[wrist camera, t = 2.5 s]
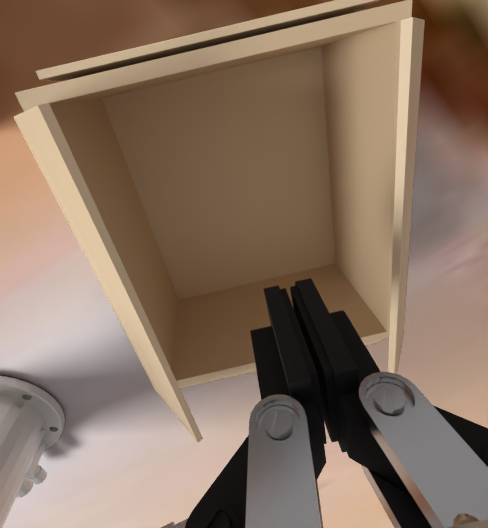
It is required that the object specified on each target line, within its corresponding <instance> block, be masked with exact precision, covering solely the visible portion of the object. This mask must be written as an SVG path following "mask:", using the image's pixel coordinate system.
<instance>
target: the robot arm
mask: <svg viewBox="0 0 488 528" xmlns="http://www.w3.org/2000/svg"><path fill="white" fill-rule="evenodd" d="M263 290H264V295H265V300H266V304H267V309H268V314H269V319H270V324H271V326H268V327H264V328H259V329H255V330H250V333H251V340H252V346H253V352H254V358H255V364H256V370H257V376H258V382H259V388H260V394H261V401H260V402H259V403H258V404H257V405H256V406H255V407H254V409H253V411H252V412H251V416H250V421H249V435H248V437H247V438H246V439H245V441H244V442H243V444H242V445H241V446H240V448H239V449H238V450H237V452H236V453H235V454H234V456H233V457H232V458H231V460H230V461H229V462H228V464H227V465H226V466H225V468H224V469H223V471H222V472H221V473H220V475H219V476H218V477H217V479H216V480H215V481H214V483H213V484H212V485H211V487H210V488H209V489H208V491H207V492H206V493H205V495H204V496H203V498H202V499H201V500H200V502H199V503H198V504H197V506H196V507H195V508H194V510H193V511H192V513H191V515H190V516H189V518H188V519H186V520H184V521H182V522H180V523H178V524H176V525H175V523H174V522H171V523H169V524H167V525H165V526H163V527H161V528H323V521H322V514H321V506H320V499H319V491H318V483H317V478H318V477H319V475H320V473H321V471H322V469H323V467H324V465H325V463H326V457H325V449H324V444H326V434H325V426H324V422H325V425H326V428H327V430H328V433H329V436H330V439H331V441H332V442H336V441H338V442H339V445H340V448H341V451H342V452H346V451H347V453H348V456H349V458H351V459H353V460H354V461H356V462H358V463H359V464H361V466H362V469H363V471H364V473H365V475H366V477H367V479H368V481H369V482H370V484H371V486H372V488H373V490H374V491H375V493H376V495H377V497H378V499H379V501H380V502H381V504H382V506H383V508H384V510H385V511H386V513H387V515H388V517H389V519H390V520H391V522H392V524H393V526H394V528H488V428H485V427H483V426H481V425H478V424H476V423H473V422H471V421H469V420H466V419H464V418H462V417H459V416H457V415H454V414H452V413H450V412H447V411H445V410H442V409H440V408H438V407H435V406H433V405H432V404H431V403H430V402H429V401H428V400H427V398H426V397H425V396H424V395H423V394H422V393H421V392H420V391H419V389H418V388H417V387H416V386H415V385H414V384H413V383H411V382H410V381H409V380H408V379H406V378H404V377H402V376H401V375H398V374H395V373H391V372H380V370H379V368H378V367H377V365H376V363H375V362H374V360H373V358H372V357H371V355H370V353H369V352H368V350H367V348H366V346H365V345H364V343H363V341H362V340H361V338H360V336H359V335H358V333H357V331H356V330H355V328H354V326H353V324H352V323H351V321H350V319H349V318H348V316H347V314H346V313H345V312H344V311H343V310H341V311H336V312H332V313H329V311H328V309H327V307H326V306H325V304H324V302H323V300H322V298H321V296H320V294H319V292H318V290H317V288H316V286H315V284H314V282H313V281H312V279H311V278H309V279H304V280H300V281H295V286H292V287H290V291H291V298H292V304H293V306H292V304H291V301H290V298H289V296H288V293H287V290H286V288H283V289H280V288H279V285H277V286H273V287H268V288H264V289H263ZM64 423H65V418H64V413H63V410H62V408H61V406H60V405H59V404H58V402H57V401H56V400H55V399H54V398H53V397H52V396H51V395H49V394H48V393H47V392H45V391H44V390H42V389H41V388H39V387H37V386H35V385H33V384H30V383H28V382H25V381H22V380H19V379H16V378H11V377H5V376H0V528H2V527H3V525H4V522H5V520H6V518H7V516H8V514H9V511H10V509H11V507H12V505H13V503H14V500H15V498H16V496H17V497H23V496H25V495H26V494H27V493H28V492H29V491H30V490H31V488H32V487H33V483H35V484H40V483H42V482H43V481H44V480H45V478H46V476H47V473H46V471H45V470H44V469H43V468H42V467H41V466H39V465H38V462H39V460H40V457H41V455H42V453H43V451H44V450H46V449H48V448H49V447H51V446H52V445H53V444H54V443H55V442H56V441H57V440H58V438H59V437H60V435H61V432H62V430H63V428H64Z"/></svg>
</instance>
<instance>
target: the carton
mask: <svg viewBox="0 0 488 528" xmlns="http://www.w3.org/2000/svg"><path fill="white" fill-rule="evenodd" d="M378 1H380V0H335V1H330V2H326V3H322V4H318V5H313V6H309V7H305V8H301V9H297V10H292V11H288V12H284V13H280V14H275V15H271V16H267V17H263V18H258V19H254V20H250V21H246V22H241V23H237V24H233V25H229V26H224V27H220V28H216V29H212V30H207V31H203V32H199V33H195V34H190V35H186V36H182V37H178V38H173V39H169V40H165V41H161V42H156V43H152V44H148V45H144V46H139V47H135V48H131V49H127V50H123V51H118V52H114V53H110V54H106V55H101V56H97V57H93V58H89V59H84V60H80V61H76V62H72V63H67V64H63V65H59V66H55V67H50V68H46V69H42V70H38V71H36V73H37V76H38V78H39V80H59V81H62V82H57V83H53V84H49V85H45V86H40V87H36V88H32V89H28V90H23V91H19V92H15V95H16V97H17V99H18V101H19V103H20V105H21V107H22V109H23V111H24V112H25V111H27V110H29V109H31V108H33V107H35V106H37V105H42V104H47V103H49V104H50V107H51V109H52V111H53V113H54V115H55V117H56V120H57V122H58V124H59V126H60V128H61V131H62V133H63V135H64V137H65V139H66V141H67V144H68V146H69V148H70V150H71V152H72V155H73V157H74V159H75V161H76V163H77V165H78V168H79V170H80V172H81V174H82V176H83V178H84V181H85V183H86V185H87V187H88V189H89V192H90V194H91V196H92V198H93V200H94V202H95V205H96V207H97V209H98V211H99V213H100V216H101V218H102V220H103V222H104V224H105V226H106V229H107V231H108V233H109V235H110V237H111V240H112V242H113V244H114V246H115V248H116V250H117V253H118V255H119V257H120V259H121V261H122V264H123V266H124V268H125V270H126V272H127V274H128V277H129V279H130V281H131V283H132V285H133V287H134V290H135V292H136V294H137V296H138V298H139V301H140V303H141V305H142V307H143V309H144V311H145V314H146V316H147V318H148V320H149V322H150V325H151V327H152V329H153V331H154V333H155V335H156V338H157V340H158V342H159V344H160V346H161V349H162V351H163V353H164V355H165V357H166V359H167V362H168V364H169V366H170V368H171V370H172V373H173V375H174V377H175V379H176V381H177V383H178V386H179V387H180V388H181V389H182V388H186V387H190V386H194V385H199V384H203V383H207V382H211V381H216V380H220V379H224V378H229V377H233V376H237V375H241V374H246V373H250V372H254V371H257V370H256V364H255V358H254V352H253V346H252V340H251V333H250V330H255V329H259V328H264V327H268V326H271V324H270V319H269V314H268V309H267V304H266V300H265V295H264V290H263V289H264V288H268V287H273V286H277V285H279V288H280V289H283V288H286V290H287V293H288V296H289V298H290V301H291V304H292V298H291V291H290V287H292V286H295V281H300V280H304V279H309V278H311V279H312V281H313V282H314V284H315V286H316V288H317V290H318V292H319V294H320V296H321V298H322V300H323V302H324V304H325V306H326V307H327V309H328V311H329V313H332V312H336V311H341V310H343V311H344V312H345V313H346V314H347V316H348V318H349V319H350V321H351V323H352V324H353V326H354V328H355V330H356V331H357V333H358V335H359V336H360V338H361V340H362V341H363V343H364V345H365V346H366V345H370V344H374V343H378V342H379V340H381V339H386V338H389V329H390V302H391V275H392V248H393V221H394V194H395V167H396V140H397V113H398V86H399V59H400V32H401V20H404V19H407V18H411V17H412V0H406V1H401V2H397V3H393V4H389V5H384V6H380V7H376V8H372V9H367V10H363V11H359V10H361V9H363V8H365V7H367V6H370V5H372V4H374V3H376V2H378ZM357 11H359V12H357ZM292 306H293V304H292Z"/></svg>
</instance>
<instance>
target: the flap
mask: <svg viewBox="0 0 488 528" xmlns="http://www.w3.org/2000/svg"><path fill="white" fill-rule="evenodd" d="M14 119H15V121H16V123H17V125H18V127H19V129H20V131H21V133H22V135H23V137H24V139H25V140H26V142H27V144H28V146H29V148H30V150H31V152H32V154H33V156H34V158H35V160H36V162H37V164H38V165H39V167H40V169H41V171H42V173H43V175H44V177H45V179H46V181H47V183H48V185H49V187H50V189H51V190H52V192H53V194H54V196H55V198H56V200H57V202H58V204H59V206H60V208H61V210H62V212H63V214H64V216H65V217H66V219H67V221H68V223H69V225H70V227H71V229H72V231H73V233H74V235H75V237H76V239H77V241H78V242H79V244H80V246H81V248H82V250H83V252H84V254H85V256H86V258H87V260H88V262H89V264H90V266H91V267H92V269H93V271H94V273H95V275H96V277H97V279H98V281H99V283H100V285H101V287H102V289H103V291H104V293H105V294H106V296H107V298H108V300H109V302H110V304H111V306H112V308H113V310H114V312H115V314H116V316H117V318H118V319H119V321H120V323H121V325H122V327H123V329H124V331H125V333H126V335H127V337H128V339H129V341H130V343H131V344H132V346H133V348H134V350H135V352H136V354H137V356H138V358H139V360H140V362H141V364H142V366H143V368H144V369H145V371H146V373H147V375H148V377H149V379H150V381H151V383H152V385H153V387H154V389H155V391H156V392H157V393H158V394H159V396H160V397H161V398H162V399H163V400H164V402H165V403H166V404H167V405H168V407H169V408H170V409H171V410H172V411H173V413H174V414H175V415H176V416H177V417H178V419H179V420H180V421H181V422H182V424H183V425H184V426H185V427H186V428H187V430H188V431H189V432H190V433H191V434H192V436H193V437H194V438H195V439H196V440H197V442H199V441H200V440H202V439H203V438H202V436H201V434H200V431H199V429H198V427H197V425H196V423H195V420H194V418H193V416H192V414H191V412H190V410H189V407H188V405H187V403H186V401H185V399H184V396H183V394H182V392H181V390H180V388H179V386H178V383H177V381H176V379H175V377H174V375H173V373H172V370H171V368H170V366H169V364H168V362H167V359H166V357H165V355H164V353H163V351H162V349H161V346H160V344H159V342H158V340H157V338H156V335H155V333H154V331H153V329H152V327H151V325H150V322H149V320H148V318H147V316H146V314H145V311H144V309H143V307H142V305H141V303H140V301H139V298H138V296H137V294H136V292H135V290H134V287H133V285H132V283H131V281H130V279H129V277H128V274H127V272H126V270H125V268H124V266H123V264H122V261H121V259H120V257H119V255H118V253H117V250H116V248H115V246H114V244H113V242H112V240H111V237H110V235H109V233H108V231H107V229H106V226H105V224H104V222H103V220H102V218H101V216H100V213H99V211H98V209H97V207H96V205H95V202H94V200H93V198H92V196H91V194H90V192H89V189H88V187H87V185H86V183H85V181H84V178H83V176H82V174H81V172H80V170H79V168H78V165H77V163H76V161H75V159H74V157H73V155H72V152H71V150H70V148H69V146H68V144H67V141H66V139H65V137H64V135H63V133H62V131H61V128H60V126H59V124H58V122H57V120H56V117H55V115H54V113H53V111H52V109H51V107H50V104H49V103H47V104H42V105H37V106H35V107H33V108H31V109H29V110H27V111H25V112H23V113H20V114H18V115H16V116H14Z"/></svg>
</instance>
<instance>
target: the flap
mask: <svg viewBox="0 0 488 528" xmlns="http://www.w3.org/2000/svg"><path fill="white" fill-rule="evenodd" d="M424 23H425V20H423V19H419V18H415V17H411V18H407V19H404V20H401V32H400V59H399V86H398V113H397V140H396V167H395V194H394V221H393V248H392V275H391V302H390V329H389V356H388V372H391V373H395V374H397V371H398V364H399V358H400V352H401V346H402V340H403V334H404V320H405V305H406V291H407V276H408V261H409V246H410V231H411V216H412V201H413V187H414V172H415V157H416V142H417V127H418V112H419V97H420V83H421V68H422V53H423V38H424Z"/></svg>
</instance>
